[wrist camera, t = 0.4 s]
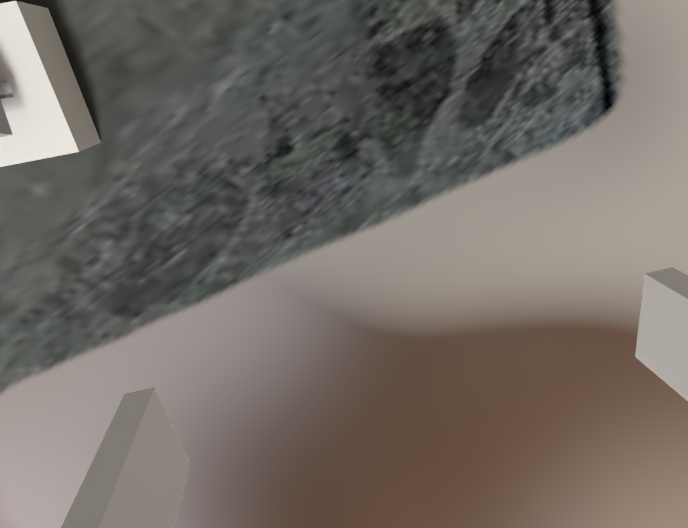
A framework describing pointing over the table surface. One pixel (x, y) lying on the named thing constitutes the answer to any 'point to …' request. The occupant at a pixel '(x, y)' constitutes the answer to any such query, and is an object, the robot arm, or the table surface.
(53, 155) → the white rocker switch box
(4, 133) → the block
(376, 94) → the table surface
